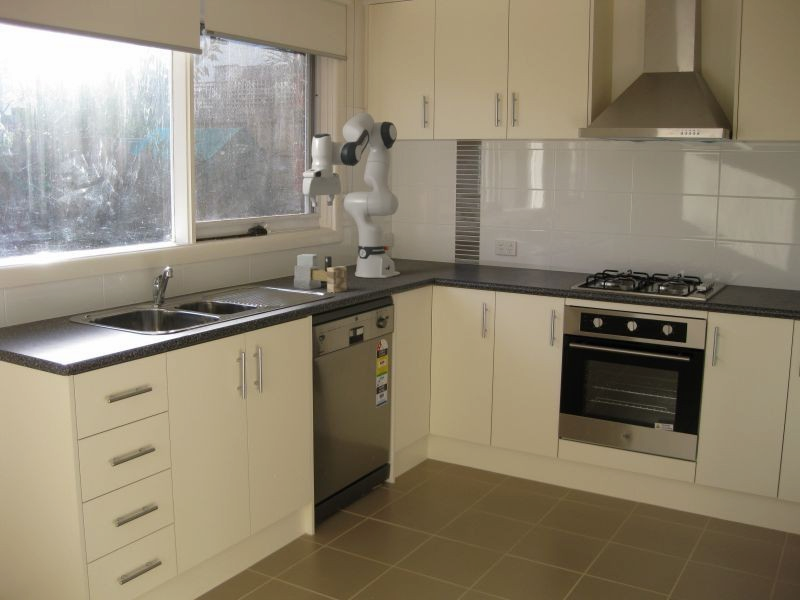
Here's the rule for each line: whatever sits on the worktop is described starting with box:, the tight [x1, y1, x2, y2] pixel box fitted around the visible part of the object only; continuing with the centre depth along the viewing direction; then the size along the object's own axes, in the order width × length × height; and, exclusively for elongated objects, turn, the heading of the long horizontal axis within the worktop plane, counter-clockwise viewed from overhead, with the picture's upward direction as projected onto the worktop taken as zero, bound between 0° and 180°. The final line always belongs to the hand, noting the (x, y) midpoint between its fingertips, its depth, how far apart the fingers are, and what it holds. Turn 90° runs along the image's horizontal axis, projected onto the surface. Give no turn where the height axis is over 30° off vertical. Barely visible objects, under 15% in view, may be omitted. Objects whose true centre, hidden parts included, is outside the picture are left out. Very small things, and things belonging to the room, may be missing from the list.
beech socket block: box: [326, 265, 348, 294], centre depth 358 cm, size 8×4×10 cm, turn 142°
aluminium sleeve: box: [293, 265, 322, 290], centre depth 368 cm, size 7×9×9 cm
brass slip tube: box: [311, 255, 333, 282], centre depth 361 cm, size 4×16×10 cm, turn 52°
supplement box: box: [296, 253, 319, 266], centre depth 380 cm, size 7×7×13 cm
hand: (322, 206), depth 367 cm, fingers open, 8 cm apart
